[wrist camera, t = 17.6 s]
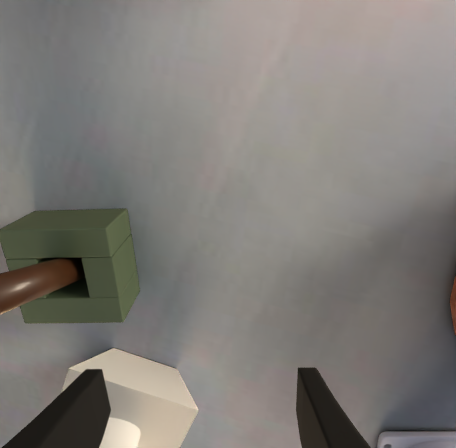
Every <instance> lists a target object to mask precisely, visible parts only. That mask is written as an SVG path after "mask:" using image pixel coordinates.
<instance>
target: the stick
mask: <svg viewBox="0 0 456 448" xmlns="http://www.w3.org/2000/svg"><path fill="white" fill-rule="evenodd" d="M83 278H85V273H84V268H83V264H82V257H74V258H56V259H53V260H49V261H45V262H41V263H38V264H34V265H30V266H27V267H23V268H19V269H16V270H12V271H8V272H4V273H1V274H0V314H3V313H5V312H7V311H9V310H12V309H14V308H16V307H19V306H21V305H23V304H26V303H28V302H30V301H32V300H35V299H37V298H39V297H42V296H44V295H46V294H49V293H51V292H53V291H55V290H58V289H60V288H62V287H65V286H67V285H69V284H72V283H74V282H76V281H78V280H81V279H83Z"/></svg>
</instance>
